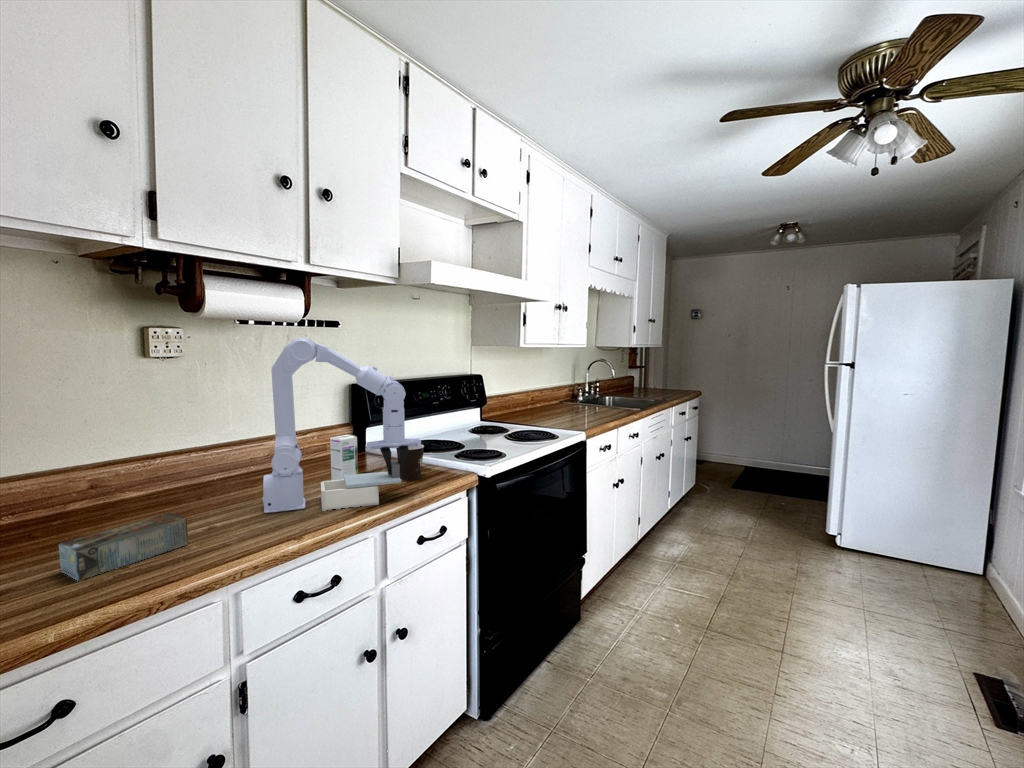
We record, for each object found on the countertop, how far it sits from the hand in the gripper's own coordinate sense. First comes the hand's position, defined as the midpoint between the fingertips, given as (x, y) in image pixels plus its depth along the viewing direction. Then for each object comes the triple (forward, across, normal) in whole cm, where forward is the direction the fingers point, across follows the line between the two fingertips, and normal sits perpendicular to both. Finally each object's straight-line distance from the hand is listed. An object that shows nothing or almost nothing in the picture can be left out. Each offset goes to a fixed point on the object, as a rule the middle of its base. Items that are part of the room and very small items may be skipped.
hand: (394, 473), depth 136 cm
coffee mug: (+7, +9, +19) cm, 22 cm away
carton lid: (+1, -6, 0) cm, 6 cm away
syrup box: (+7, -12, +19) cm, 23 cm away
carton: (+7, -12, 0) cm, 14 cm away
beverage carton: (+7, -55, -20) cm, 59 cm away
